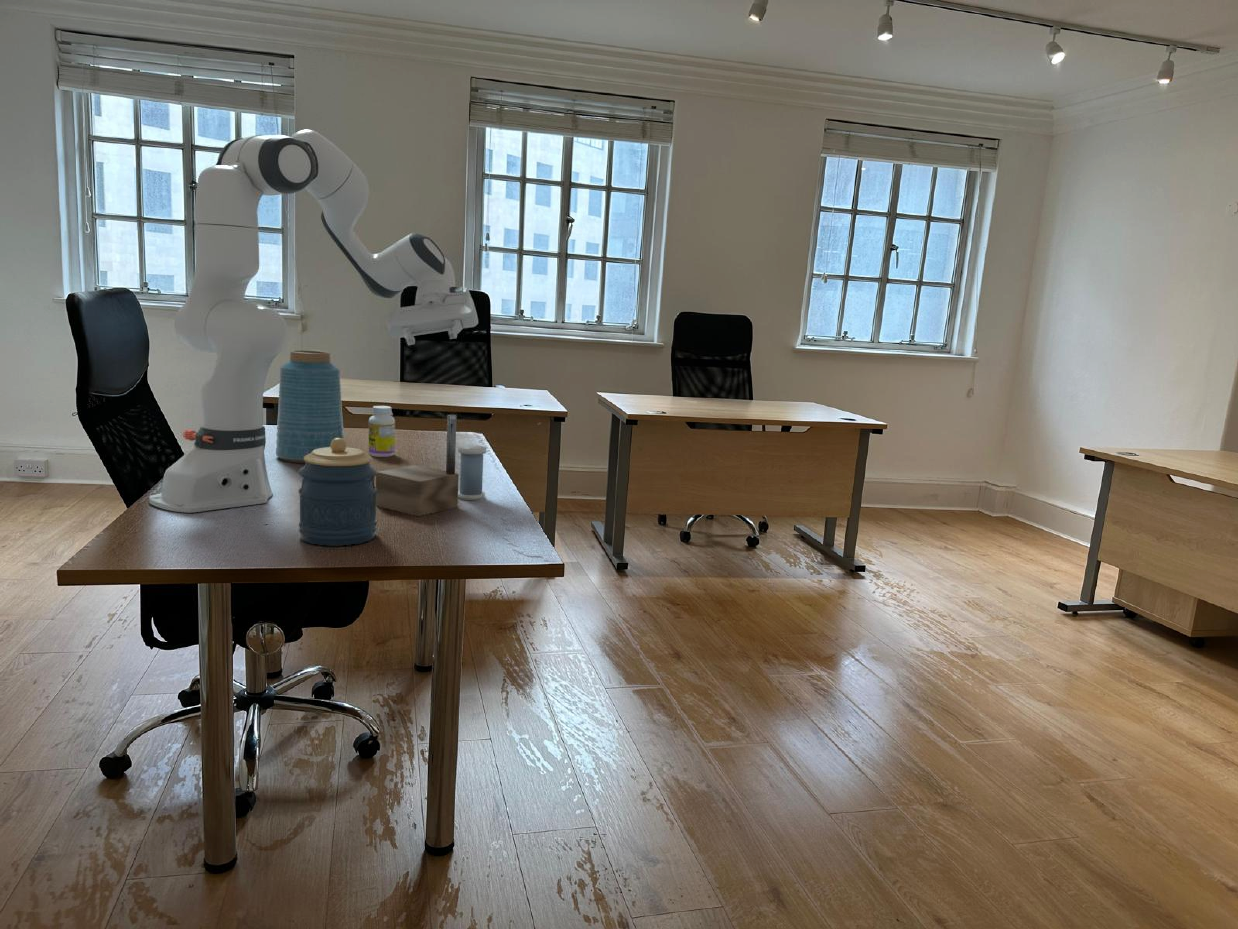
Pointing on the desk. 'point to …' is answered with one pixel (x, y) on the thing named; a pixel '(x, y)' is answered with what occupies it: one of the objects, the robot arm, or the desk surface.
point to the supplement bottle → (381, 432)
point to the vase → (308, 405)
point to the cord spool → (471, 472)
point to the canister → (337, 496)
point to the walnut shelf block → (416, 490)
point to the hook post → (451, 444)
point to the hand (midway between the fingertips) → (431, 339)
